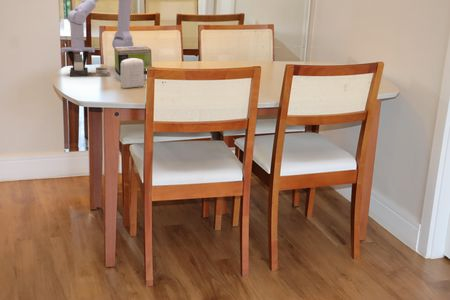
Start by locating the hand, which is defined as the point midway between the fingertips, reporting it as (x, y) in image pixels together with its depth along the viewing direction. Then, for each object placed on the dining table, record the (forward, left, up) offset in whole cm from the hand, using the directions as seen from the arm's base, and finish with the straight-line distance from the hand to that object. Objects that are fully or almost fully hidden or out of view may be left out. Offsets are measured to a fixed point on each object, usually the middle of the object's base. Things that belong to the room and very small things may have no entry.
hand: (78, 68), depth 284 cm
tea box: (-13, +21, -4) cm, 26 cm away
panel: (-4, +3, -4) cm, 6 cm away
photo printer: (-4, +31, -4) cm, 31 cm away
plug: (0, 0, -2) cm, 2 cm away
